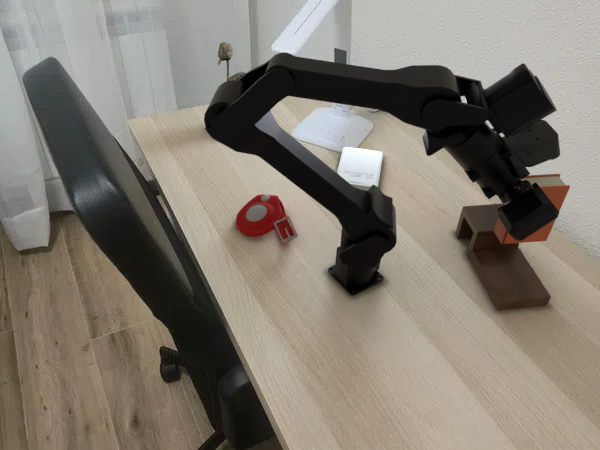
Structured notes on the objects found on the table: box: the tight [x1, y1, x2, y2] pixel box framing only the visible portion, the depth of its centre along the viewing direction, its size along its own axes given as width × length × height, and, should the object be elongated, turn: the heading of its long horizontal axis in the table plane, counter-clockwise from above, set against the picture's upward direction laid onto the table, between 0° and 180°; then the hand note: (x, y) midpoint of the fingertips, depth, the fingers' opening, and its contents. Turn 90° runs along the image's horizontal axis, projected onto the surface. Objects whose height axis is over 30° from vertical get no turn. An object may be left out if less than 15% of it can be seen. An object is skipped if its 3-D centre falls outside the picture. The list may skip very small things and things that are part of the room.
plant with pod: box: [217, 41, 247, 82], centre depth 113 cm, size 8×11×20 cm
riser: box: [454, 203, 552, 311], centre depth 87 cm, size 8×18×6 cm, turn 9°
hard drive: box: [336, 146, 384, 190], centre depth 108 cm, size 2×8×12 cm
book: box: [493, 173, 571, 244], centre depth 78 cm, size 7×3×10 cm, turn 98°
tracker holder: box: [235, 194, 299, 244], centre depth 94 cm, size 12×4×10 cm
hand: (531, 211), depth 79 cm, fingers closed on book, 3 cm apart
